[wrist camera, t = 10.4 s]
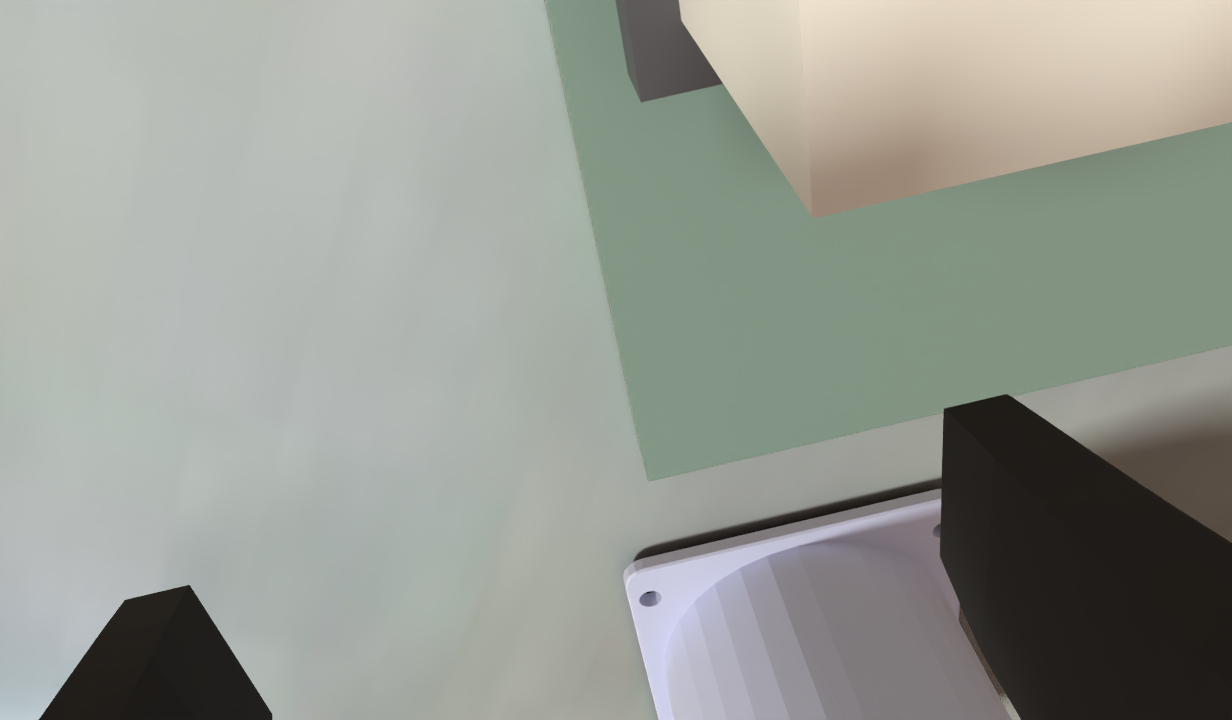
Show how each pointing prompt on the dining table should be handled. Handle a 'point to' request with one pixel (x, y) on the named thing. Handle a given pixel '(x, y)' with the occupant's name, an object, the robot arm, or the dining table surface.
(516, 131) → the dining table surface
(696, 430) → the header board
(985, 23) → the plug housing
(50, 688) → the dining table surface
